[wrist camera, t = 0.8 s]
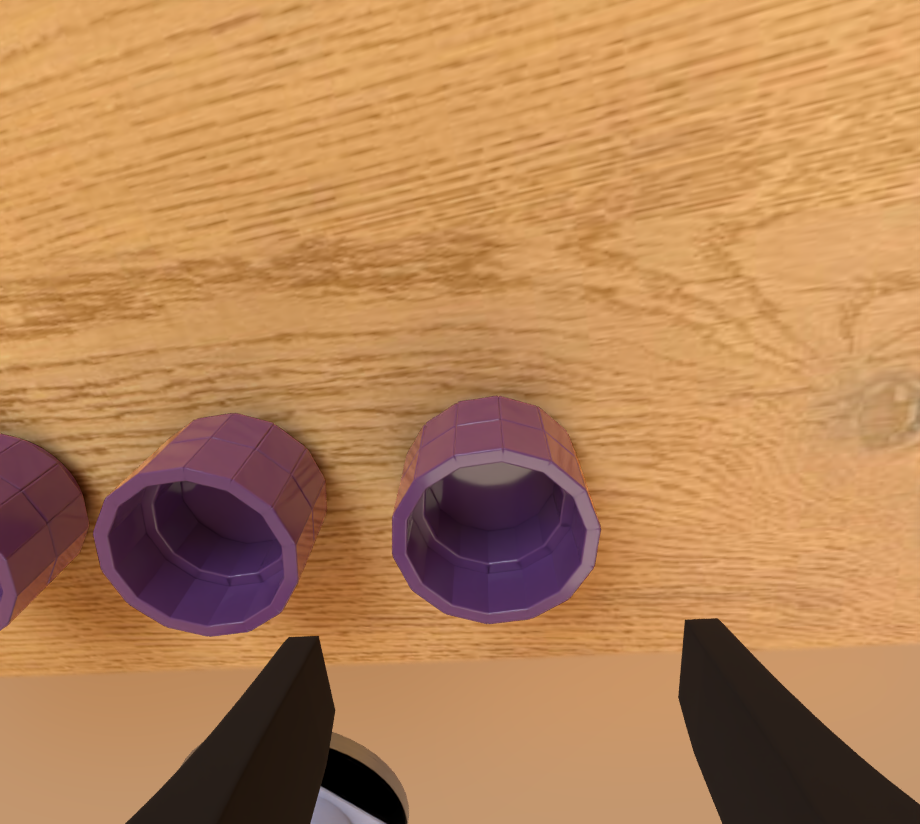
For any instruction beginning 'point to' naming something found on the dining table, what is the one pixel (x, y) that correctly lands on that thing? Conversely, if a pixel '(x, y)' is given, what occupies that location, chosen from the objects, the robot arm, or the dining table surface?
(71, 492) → the purple faceted cup
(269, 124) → the dining table surface
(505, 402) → the purple cup
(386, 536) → the dining table surface
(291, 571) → the purple cup
